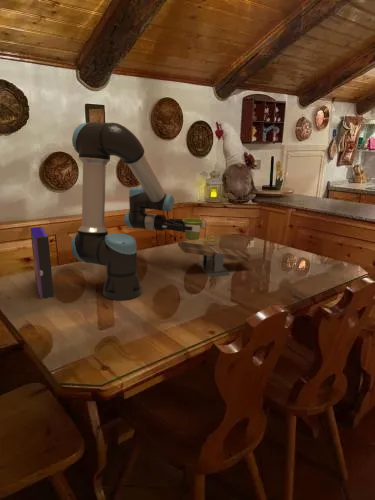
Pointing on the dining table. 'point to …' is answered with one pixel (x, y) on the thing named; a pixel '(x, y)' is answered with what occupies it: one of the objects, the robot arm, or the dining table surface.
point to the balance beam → (211, 251)
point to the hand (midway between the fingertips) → (202, 226)
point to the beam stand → (213, 265)
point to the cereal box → (42, 262)
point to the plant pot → (191, 234)
